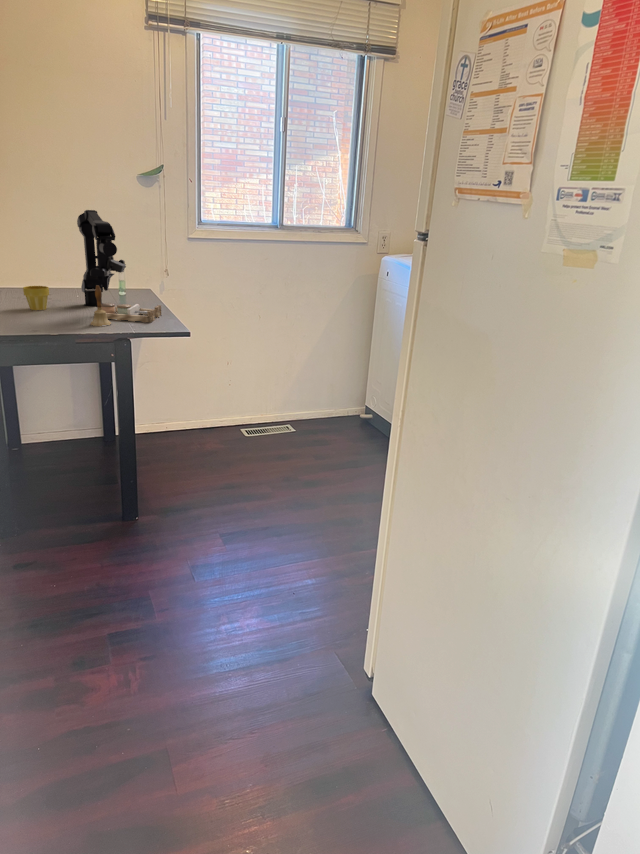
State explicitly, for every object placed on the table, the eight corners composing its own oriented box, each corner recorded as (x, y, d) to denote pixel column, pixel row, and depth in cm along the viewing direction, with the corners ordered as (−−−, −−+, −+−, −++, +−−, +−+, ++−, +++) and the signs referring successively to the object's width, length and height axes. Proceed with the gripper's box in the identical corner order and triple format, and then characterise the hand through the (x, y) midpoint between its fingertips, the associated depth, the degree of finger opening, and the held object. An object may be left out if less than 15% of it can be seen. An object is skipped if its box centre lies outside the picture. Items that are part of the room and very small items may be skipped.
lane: (103, 319, 265) (102, 308, 264) (116, 312, 280) (115, 302, 279) (151, 322, 265) (150, 311, 263) (161, 315, 280) (161, 305, 279)
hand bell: (91, 326, 251) (88, 287, 245) (89, 322, 258) (86, 283, 252) (112, 326, 254) (110, 287, 248) (110, 322, 261) (107, 283, 255)
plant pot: (25, 307, 278) (23, 285, 275) (50, 306, 282) (48, 285, 279) (25, 311, 270) (22, 289, 266) (50, 311, 274) (48, 289, 270)
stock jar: (115, 317, 270) (114, 306, 268) (120, 315, 276) (119, 303, 274) (129, 318, 270) (128, 307, 268) (133, 316, 276) (133, 304, 274)
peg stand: (127, 319, 267) (127, 309, 265) (137, 313, 279) (136, 304, 277) (144, 320, 266) (143, 310, 265) (152, 314, 279) (152, 305, 277)
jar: (98, 316, 270) (97, 305, 268) (103, 313, 276) (102, 302, 274) (112, 317, 270) (111, 306, 268) (117, 314, 276) (116, 303, 274)
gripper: (114, 257, 254) (117, 295, 260) (129, 252, 272) (131, 288, 277) (88, 255, 255) (90, 293, 260) (104, 251, 272) (107, 286, 278)
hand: (106, 290), depth 269 cm, fingers closed
